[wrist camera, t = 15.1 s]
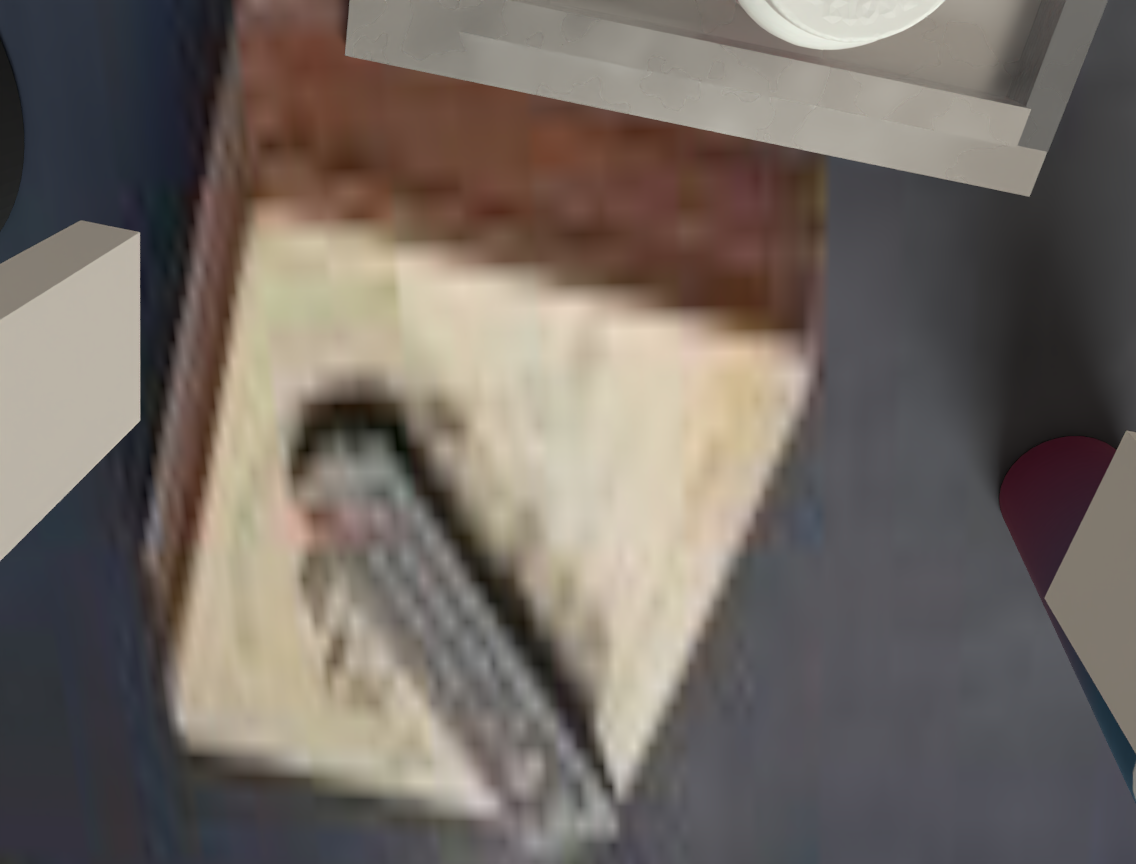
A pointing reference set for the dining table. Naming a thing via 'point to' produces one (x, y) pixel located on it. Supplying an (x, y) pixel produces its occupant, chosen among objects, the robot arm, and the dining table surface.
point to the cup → (1061, 543)
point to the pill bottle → (836, 20)
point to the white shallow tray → (771, 73)
